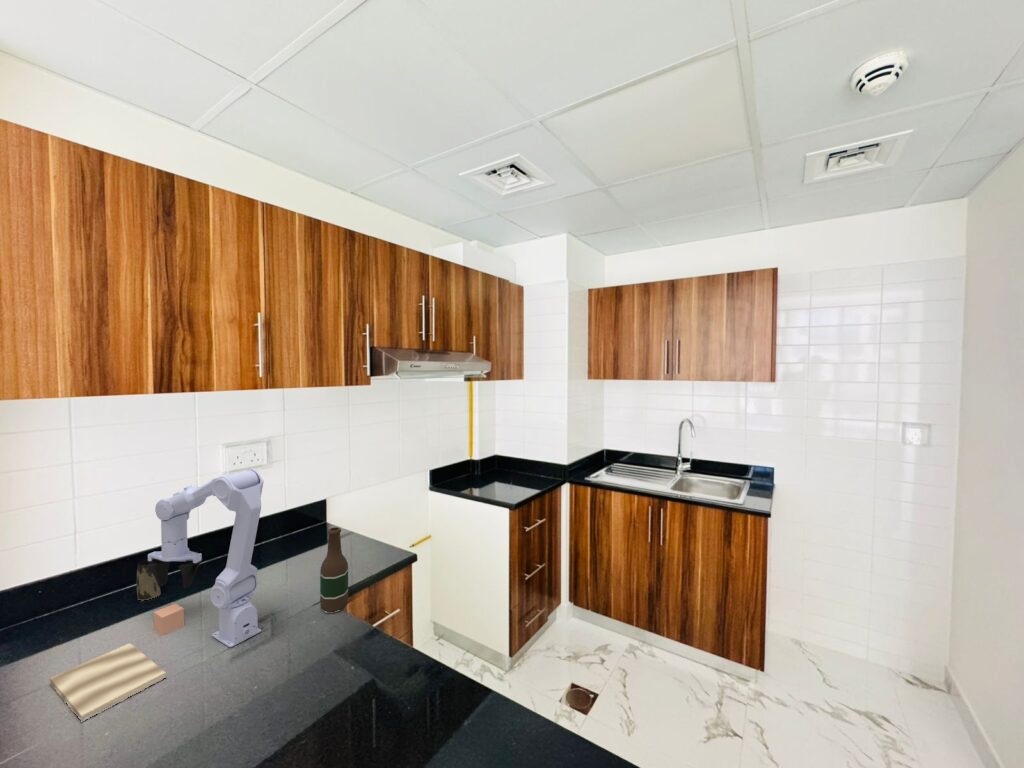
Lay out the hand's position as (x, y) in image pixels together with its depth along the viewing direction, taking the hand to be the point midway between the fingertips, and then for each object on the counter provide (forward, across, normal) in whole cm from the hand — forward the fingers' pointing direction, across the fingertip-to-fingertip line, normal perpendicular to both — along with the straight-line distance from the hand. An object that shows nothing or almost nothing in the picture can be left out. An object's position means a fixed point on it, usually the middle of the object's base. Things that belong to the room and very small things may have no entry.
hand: (175, 585), depth 119 cm
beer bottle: (+10, -42, -10) cm, 44 cm away
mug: (+10, +18, -11) cm, 23 cm away
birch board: (+10, -6, +24) cm, 26 cm away
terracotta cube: (+10, -2, +4) cm, 11 cm away
